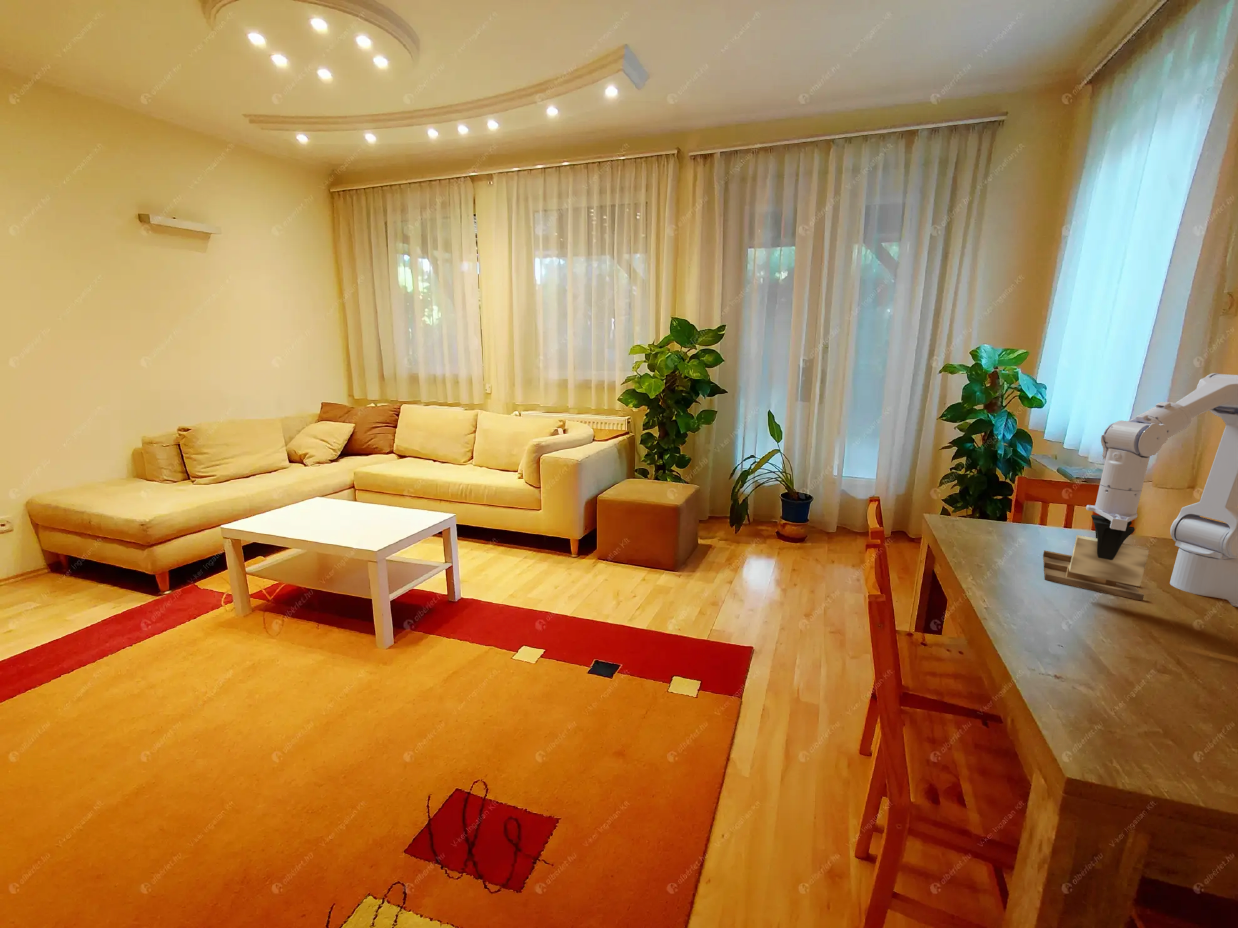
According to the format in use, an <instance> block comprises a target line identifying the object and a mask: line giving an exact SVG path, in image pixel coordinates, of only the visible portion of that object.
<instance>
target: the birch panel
mask: <svg viewBox="0 0 1238 928" xmlns="http://www.w3.org/2000/svg"><path fill="white" fill-rule="evenodd" d="M1075 537H1076V538H1075V541H1074V545H1073V550H1072V554H1071V556H1072V558H1071V562H1070V567H1069V571H1070V572H1073V573H1078V574H1083V575H1087V576H1092V577H1097V578H1102V579H1107V580H1111V581H1116V582H1121V583H1126V584H1130V585H1135V586H1136V587H1141V583H1142V580H1143V575H1144V572H1145V569H1146V564H1147V561H1148V557H1149V554H1150V550H1149V548H1148V547H1147V546H1142V545H1136V544H1130V543H1125V542H1123V543H1122V545H1121V547H1120V548H1119V550H1118V552H1117V554H1116V556H1115V557H1114V559H1113V560H1108V559H1103V558H1098V554H1097V538H1096V537H1091V536H1085V535H1079V534H1076V536H1075Z"/></svg>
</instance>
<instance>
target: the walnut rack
mask: <svg viewBox="0 0 1238 928" xmlns="http://www.w3.org/2000/svg"><path fill="white" fill-rule="evenodd" d="M1042 558H1043V560H1042V561H1043V573H1044V574H1043V575H1044V581H1049V582H1052V583H1053V582H1054V583H1058V584H1063V585H1068V586H1072V587H1076V588H1082V589H1085V590H1086V589H1087V590H1091V591H1094V592H1095V591H1096V592H1101V593H1104V594H1109V595H1114V596H1118V597H1123V598H1126V599H1127V598H1128V599H1133V600H1136V601H1142V602H1143V601H1144V597H1145V594H1144V592H1141V591H1139V589H1138V586H1135V585H1130V584H1126V583H1121V582H1116V586H1110V585H1102V584H1098V583H1093V582H1088V581H1083V580H1079V579H1074V578H1069V577H1066V572H1067V567H1068V565H1070V562H1071V558H1072V554H1071V555H1070V554H1066V553H1060V552H1054V551H1049V550H1043V554H1042Z"/></svg>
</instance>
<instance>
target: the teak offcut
mask: <svg viewBox="0 0 1238 928" xmlns="http://www.w3.org/2000/svg"><path fill="white" fill-rule="evenodd" d="M1069 567H1070V565H1068V567H1067V572H1066V577H1069V578H1074V579H1079V580H1083V581H1088V582H1093V583H1098V584H1102V585H1105V583H1106V579H1102V578H1097V577H1092V576H1087V575H1083V574H1078V573H1073V572H1070V571H1069Z"/></svg>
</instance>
